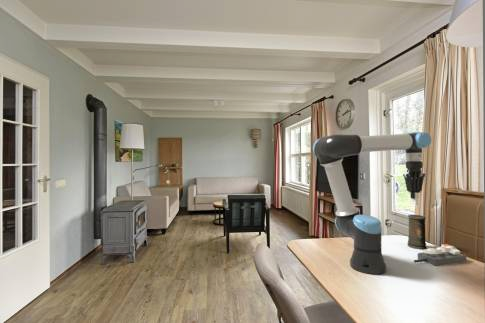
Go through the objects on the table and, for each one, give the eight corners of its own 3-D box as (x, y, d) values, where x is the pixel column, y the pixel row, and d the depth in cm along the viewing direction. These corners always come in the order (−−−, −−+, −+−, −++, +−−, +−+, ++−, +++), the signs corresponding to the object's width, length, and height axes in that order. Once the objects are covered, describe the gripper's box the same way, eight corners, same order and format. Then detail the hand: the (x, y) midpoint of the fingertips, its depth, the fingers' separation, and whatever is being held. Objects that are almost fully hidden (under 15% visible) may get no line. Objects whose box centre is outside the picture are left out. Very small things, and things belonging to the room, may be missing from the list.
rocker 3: (453, 256, 123) (455, 250, 122) (440, 248, 129) (442, 243, 129) (459, 255, 124) (460, 250, 123) (445, 248, 130) (447, 242, 130)
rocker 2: (446, 253, 121) (444, 246, 122) (434, 254, 127) (431, 248, 128) (452, 253, 122) (449, 246, 123) (439, 253, 128) (436, 247, 129)
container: (404, 245, 147) (403, 215, 147) (413, 243, 151) (413, 213, 151) (420, 250, 139) (420, 218, 139) (430, 248, 143) (429, 216, 143)
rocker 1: (437, 256, 119) (435, 249, 120) (424, 254, 125) (422, 248, 126) (442, 255, 120) (440, 248, 121) (429, 254, 126) (428, 247, 127)
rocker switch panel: (424, 267, 116) (424, 260, 116) (406, 260, 125) (406, 254, 125) (466, 261, 123) (466, 255, 123) (447, 255, 132) (447, 249, 132)
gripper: (410, 160, 129) (411, 206, 129) (430, 160, 133) (430, 205, 133) (398, 161, 137) (398, 204, 136) (416, 161, 140) (417, 202, 140)
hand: (414, 204), depth 135 cm, fingers closed
